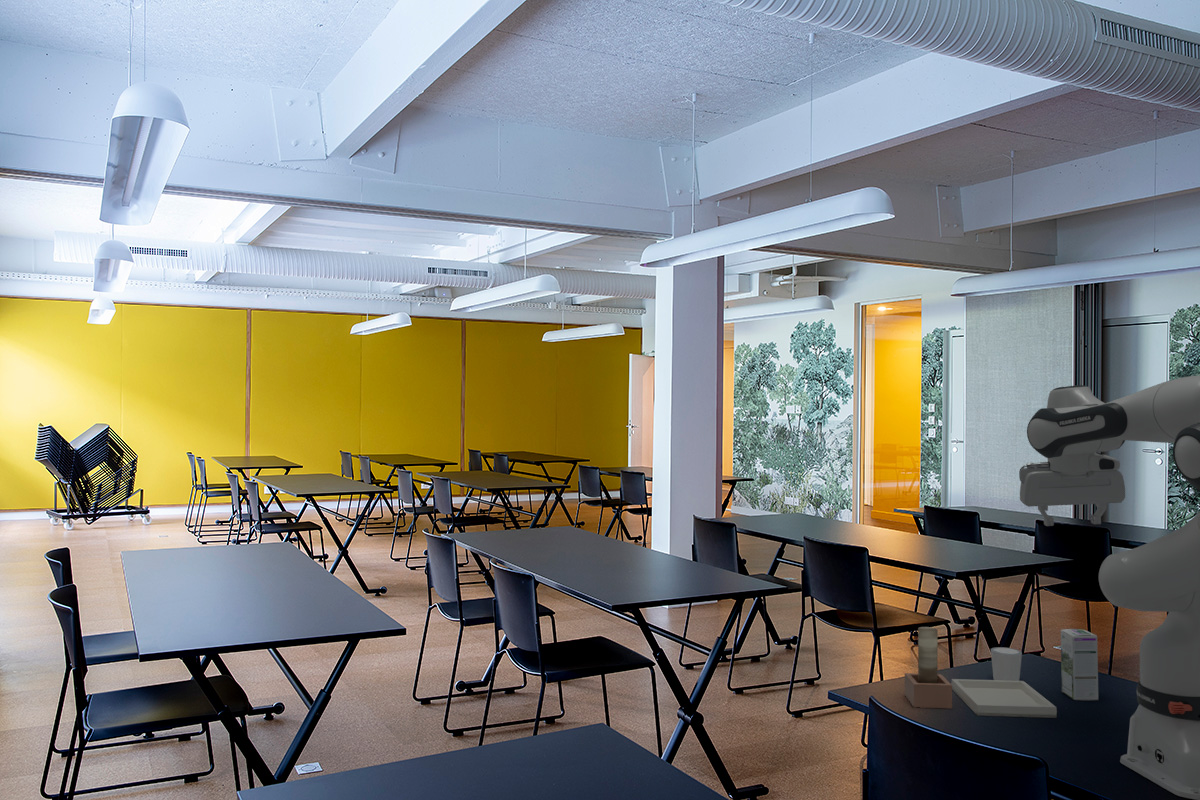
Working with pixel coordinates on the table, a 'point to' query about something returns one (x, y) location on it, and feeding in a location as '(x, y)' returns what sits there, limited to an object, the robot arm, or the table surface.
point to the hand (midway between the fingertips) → (1072, 524)
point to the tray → (1003, 698)
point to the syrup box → (1079, 664)
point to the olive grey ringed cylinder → (927, 655)
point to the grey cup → (1006, 663)
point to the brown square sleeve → (928, 692)
